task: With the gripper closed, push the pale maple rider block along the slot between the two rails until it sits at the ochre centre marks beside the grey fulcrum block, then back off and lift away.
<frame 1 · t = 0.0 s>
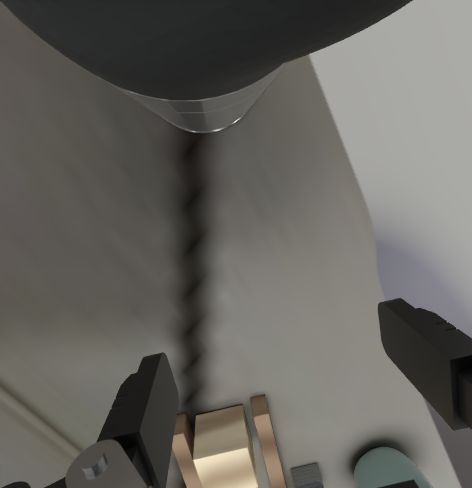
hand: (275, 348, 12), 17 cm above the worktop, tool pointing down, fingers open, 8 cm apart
beam rails: (238, 474, 36), on the worktop
cup: (376, 460, 37), on the worktop
fulcrum block: (306, 478, 37), on the worktop
rider: (225, 449, 32), point 3 cm above the worktop, slide at 0.0 cm
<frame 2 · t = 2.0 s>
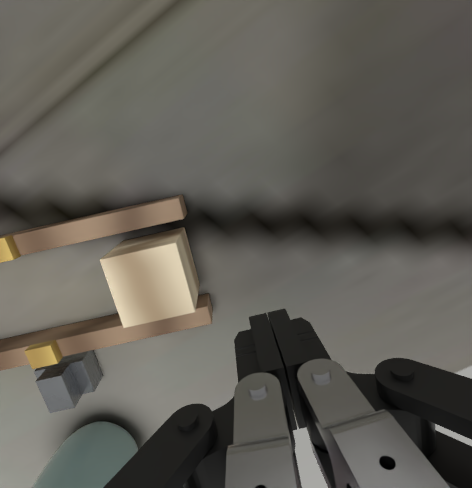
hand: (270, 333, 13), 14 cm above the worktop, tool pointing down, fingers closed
beam rails: (79, 281, 26), on the worktop
cup: (107, 439, 30), on the worktop
fulcrum block: (75, 366, 28), on the worktop
rider: (156, 273, 23), point 3 cm above the worktop, slide at 0.0 cm
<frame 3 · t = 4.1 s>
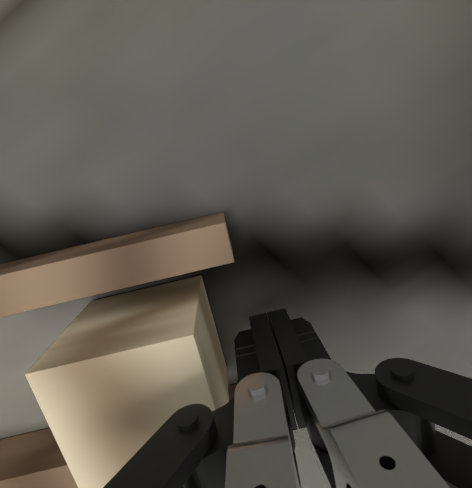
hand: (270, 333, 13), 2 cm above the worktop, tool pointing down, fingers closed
beam rails: (39, 364, 15), on the worktop
rider: (151, 371, 12), point 3 cm above the worktop, slide at 1.1 cm, touching gripper
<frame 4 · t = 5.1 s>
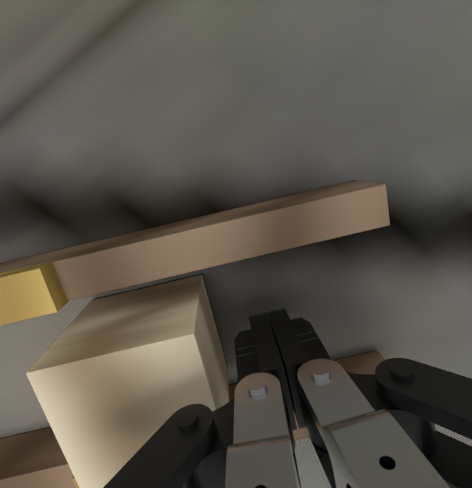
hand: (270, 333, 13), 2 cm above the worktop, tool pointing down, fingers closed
beam rails: (160, 335, 15), on the worktop
rider: (151, 370, 12), point 3 cm above the worktop, slide at 6.9 cm, touching gripper
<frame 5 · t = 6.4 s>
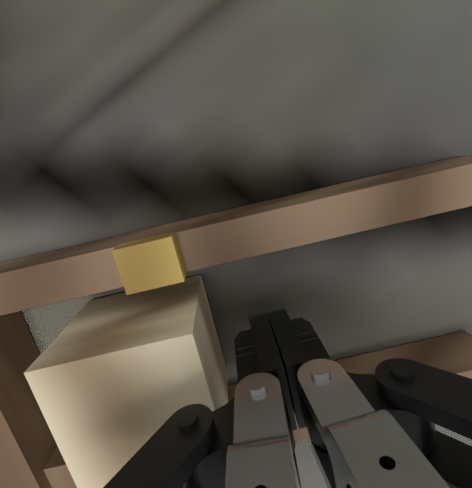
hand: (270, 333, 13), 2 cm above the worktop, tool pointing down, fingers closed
beam rails: (252, 313, 15), on the worktop
rider: (150, 370, 12), point 3 cm above the worktop, slide at 11.3 cm, touching gripper
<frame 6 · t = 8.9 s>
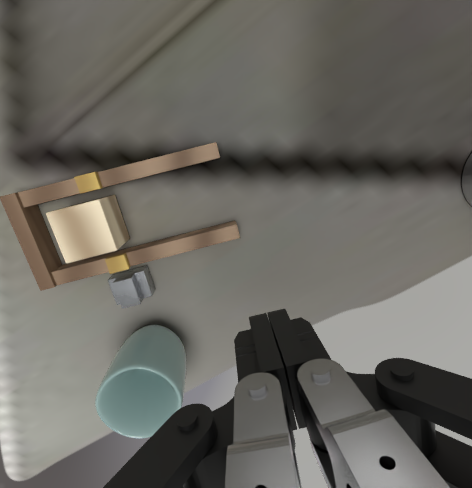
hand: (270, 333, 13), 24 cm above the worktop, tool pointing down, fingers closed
beam rails: (139, 212, 35), on the worktop
cup: (157, 343, 39), on the worktop
fulcrum block: (134, 281, 37), on the worktop
rider: (91, 227, 32), point 3 cm above the worktop, slide at 11.3 cm
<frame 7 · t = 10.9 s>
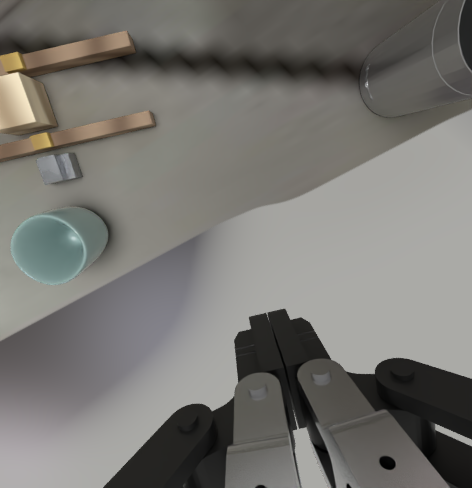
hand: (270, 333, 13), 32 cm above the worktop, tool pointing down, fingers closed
beam rails: (65, 102, 39), on the worktop
cup: (86, 230, 43), on the worktop
fulcrum block: (63, 168, 41), on the worktop
rider: (18, 106, 36), point 3 cm above the worktop, slide at 11.3 cm
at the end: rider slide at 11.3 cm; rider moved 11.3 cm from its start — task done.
